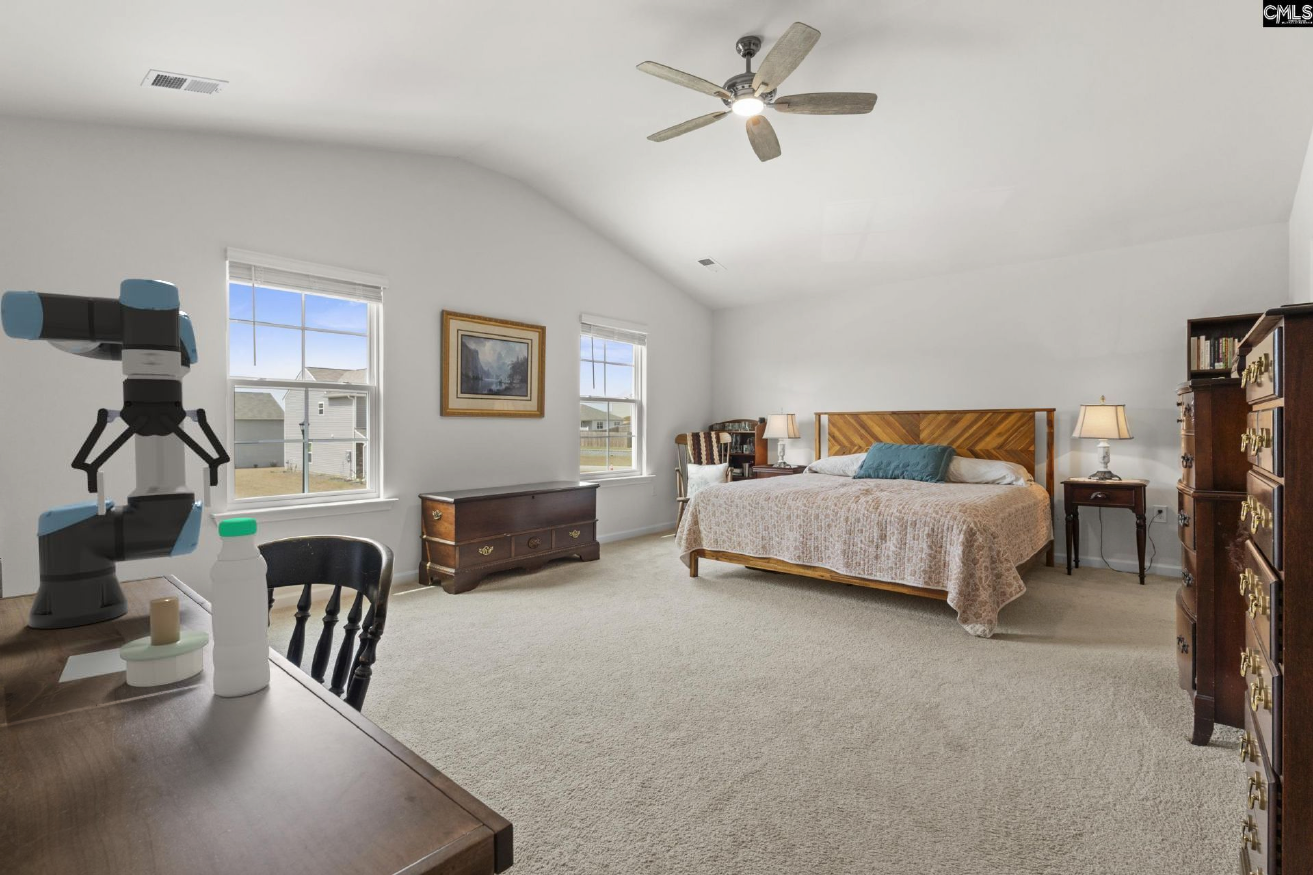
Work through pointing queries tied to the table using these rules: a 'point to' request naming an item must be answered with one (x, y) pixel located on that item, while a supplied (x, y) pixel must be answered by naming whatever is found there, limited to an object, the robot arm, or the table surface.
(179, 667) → the bowl
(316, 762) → the table surface
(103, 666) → the mat
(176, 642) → the lid
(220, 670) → the water bottle
